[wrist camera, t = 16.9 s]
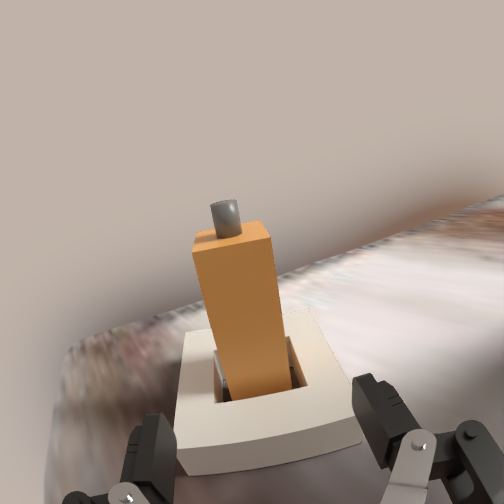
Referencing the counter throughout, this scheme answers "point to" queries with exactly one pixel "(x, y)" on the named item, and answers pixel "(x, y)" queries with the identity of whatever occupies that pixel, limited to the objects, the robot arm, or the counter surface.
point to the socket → (263, 407)
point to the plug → (243, 303)
